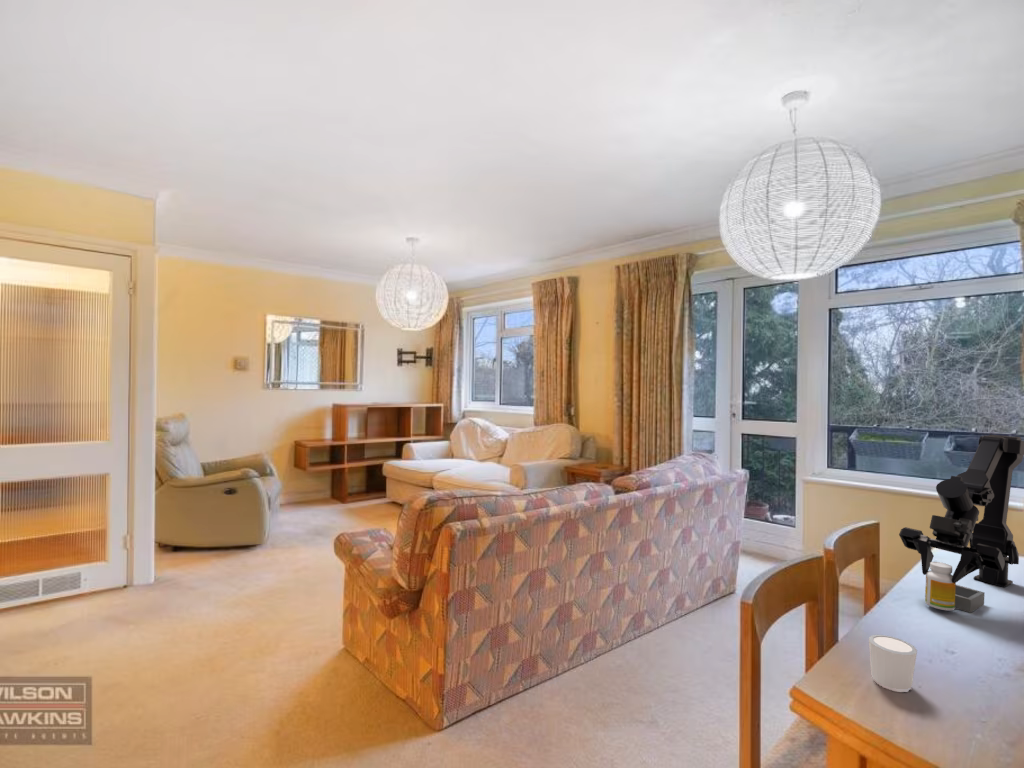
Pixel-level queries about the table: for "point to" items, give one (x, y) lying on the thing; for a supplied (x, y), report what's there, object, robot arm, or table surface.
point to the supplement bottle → (940, 587)
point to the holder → (968, 599)
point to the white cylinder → (892, 661)
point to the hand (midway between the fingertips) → (938, 577)
